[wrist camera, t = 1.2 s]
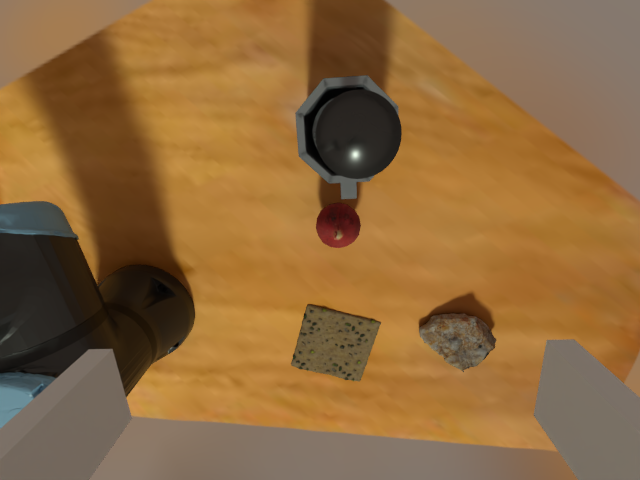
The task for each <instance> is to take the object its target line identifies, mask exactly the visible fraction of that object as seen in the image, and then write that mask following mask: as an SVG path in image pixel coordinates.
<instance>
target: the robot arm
mask: <svg viewBox="0 0 640 480" xmlns="http://www.w3.org/2000/svg"><path fill="white" fill-rule="evenodd" d="M78 239H79V238H78V236H77V235H76V234H74V232H73V231H72V229H71V227H70V225H69V223H68V221H67V219H66V217H65V215H64V213H63V211H62V210H61V209H60V208H59V207H58V206H56V205H54V204H52V203H49V202H44V201H33V202H20V203H9V204H0V480H89V479H90V477H91V476H92V475H93V473H94V472H95V470H96V469H97V468H98V466H99V465H100V463H101V462H102V460H103V459H104V458H105V456H106V455H107V453H108V452H109V450H110V449H111V448H112V446H113V445H114V443H115V442H116V440H117V439H118V438H119V436H120V435H121V433H122V432H123V431H124V429H125V428H126V426H127V425H128V423H129V422H130V420H131V419H132V417H131V413H130V410H129V406H128V403H127V399H126V397H127V396H128V394H129V393H130V392H131V390H132V389H133V388H134V387H135V385H136V384H137V383H138V381H139V380H140V379H141V377H142V376H143V375H144V373H145V372H146V371H147V369H148V368H149V367H150V365H151V364H153V363H154V362H156V361H158V360H159V359H161V358H163V357H164V356H166V355H168V354H170V353H171V352H173V351H174V350H176V349H177V348H178V347H179V346H180V345H181V344H182V343H183V342H184V340H185V339H186V338H187V336H188V335H189V333H190V332H191V330H192V327H193V324H194V318H195V312H194V306H193V302H192V300H191V297H190V295H189V294H188V292H187V290H186V289H185V288H184V286H183V285H182V284H181V283H180V282H179V281H178V280H177V279H176V278H174V277H173V276H172V275H170V274H169V273H167V272H165V271H163V270H161V269H158V268H155V267H152V266H147V265H131V266H126V267H123V268H121V269H119V270H117V271H115V272H114V273H112V274H111V275H109V276H107V277H106V278H105V279H104V280H103V281H101V283H100V284H99V285H98V286H97V284H96V281H95V279H94V277H93V274H92V272H91V270H90V268H89V265H88V263H87V261H86V259H85V256H84V254H83V252H82V249H81V247H80V245H79V243H78ZM534 416H535V418H536V419H537V421H538V422H539V424H540V425H541V426H542V428H543V429H544V431H545V432H546V434H547V435H548V437H549V438H550V440H551V441H552V442H553V444H554V445H555V447H556V448H557V450H558V451H559V453H560V454H561V455H562V457H563V458H564V460H565V461H566V463H567V464H568V465H569V467H570V468H571V470H572V471H573V473H574V474H575V475H576V477H577V479H578V480H640V397H638V396H637V395H636V394H635V393H634V392H633V391H632V390H631V389H629V388H628V387H627V386H626V385H625V384H624V383H623V382H622V381H620V380H619V379H618V378H617V377H616V376H615V375H614V374H612V373H611V372H610V371H609V370H608V369H607V368H606V367H605V366H603V365H602V364H601V363H600V362H599V361H598V360H597V359H596V358H594V357H593V356H592V355H591V354H590V353H589V352H588V351H587V350H585V349H584V348H583V347H582V346H581V345H580V344H579V343H577V342H576V341H575V340H547V342H546V347H545V353H544V359H543V365H542V371H541V376H540V382H539V388H538V394H537V400H536V405H535V411H534Z"/></svg>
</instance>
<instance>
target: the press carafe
mask: <svg viewBox="0 0 640 480" xmlns="http://www.w3.org/2000/svg"><path fill="white" fill-rule="evenodd" d="M351 90H369V91H372V92H375V93H377V94H380V95H381V96H383V97H384V98H385V99H387V100H388V101H389V102H390V103H391V105H392V106H393V107H394V109H395V110H396V112H397V114H398V106H397V105H396V104H395V103H394V102H393V101H392V100H391V99H390V98H389V97H388V96H387V95H386V94H385V93H384V92H383V91H382V90H381V89H380V88H379V87H378V86H377V85H376V84H375V83H374V82H373V81H372V80H371V79H370V78H369V77H368V76H367V75H365V76H351V77H337V78H323V80H322V81H321V82H320V83H319V85H318V86H317V87H316V88H315V90H314V91H313V92H312V93H311V95H310V96H309V97H308V98H307V100H306V101H305V102H304V103H303V105H302V106H301V107H300V108H299V109H298V111H297V112H296V126H297V139H298V152H299V157H300V158H301V159H302V160H303V161H305V162H306V163H307V164H308V165H309V166H310V167H311V168H312V169H313V170H315V171H316V172H317V173H318V174H319V175H320V176H321V177H322V178H323V179H325V180H326V181H327V182H328V183H340V188H341V199H356V198H357V186H356V182H366V181H370V180H371V179H372V178H373V177H374V176H371V177H368V178H363V179H351V178H346V177H343V176H341V175H338V174H337V173H335V172H333V171H332V170H331V169H330V168H329V167H328V166H327V165H326V164H325V163H324V161H323V160H322V158H321V156H320V154H319V152H318V150H317V148H316V146H315V143H314V139H313V124H314V120H315V118H316V115H317V113H318V112H319V110H320V109H321V107H322V106H323V105H324V104H325V103H327V102H328V101H329V100H331V99H333V98H335V97H337V96H338V95H340V94H342V93H344V92H347V91H351Z"/></svg>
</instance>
